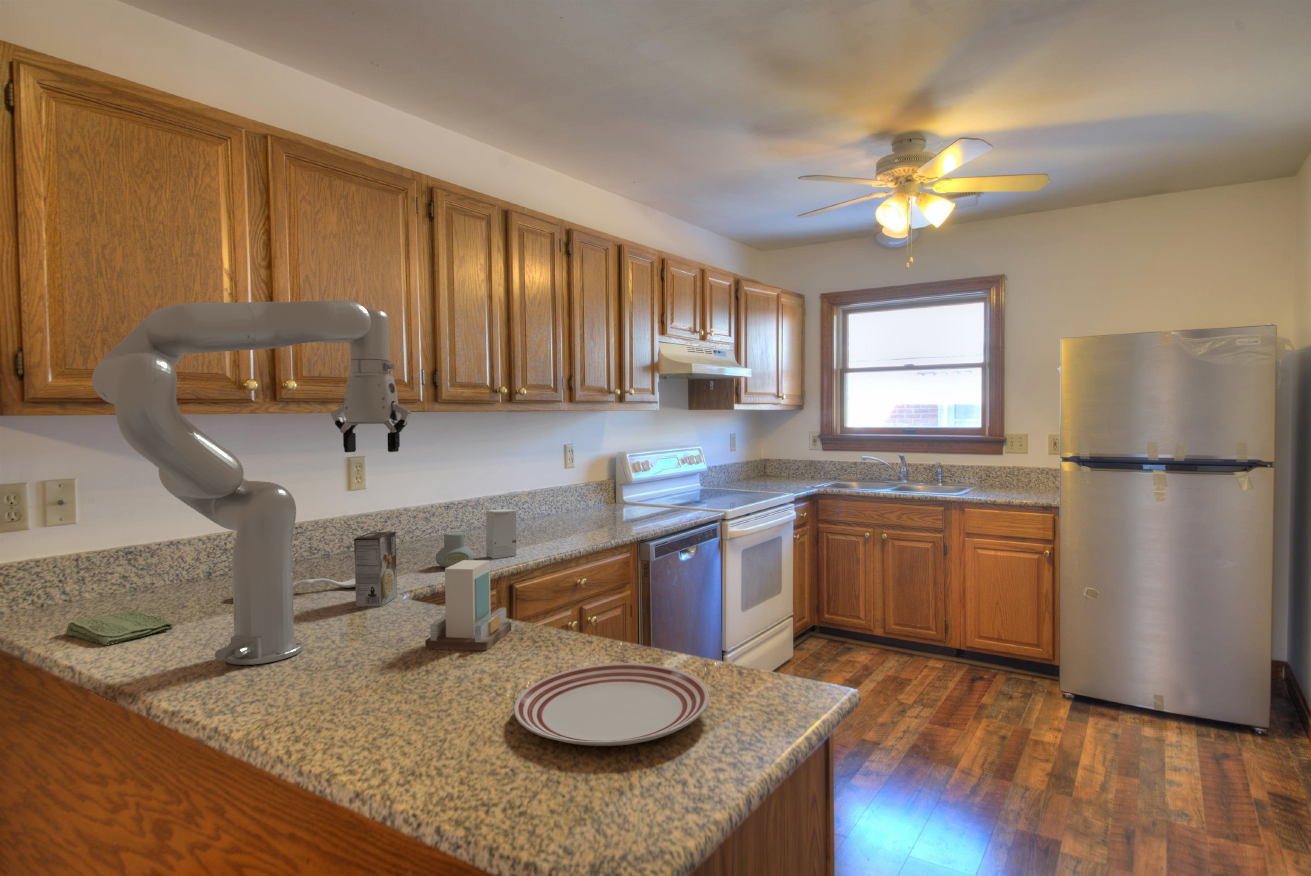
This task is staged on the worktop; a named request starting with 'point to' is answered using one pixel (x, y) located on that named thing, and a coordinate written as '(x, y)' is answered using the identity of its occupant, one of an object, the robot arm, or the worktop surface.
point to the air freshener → (453, 550)
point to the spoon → (341, 584)
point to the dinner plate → (611, 704)
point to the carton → (466, 597)
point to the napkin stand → (469, 641)
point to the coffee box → (375, 568)
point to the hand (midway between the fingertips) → (371, 451)
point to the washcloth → (118, 627)
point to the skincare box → (500, 533)
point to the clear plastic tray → (481, 629)
